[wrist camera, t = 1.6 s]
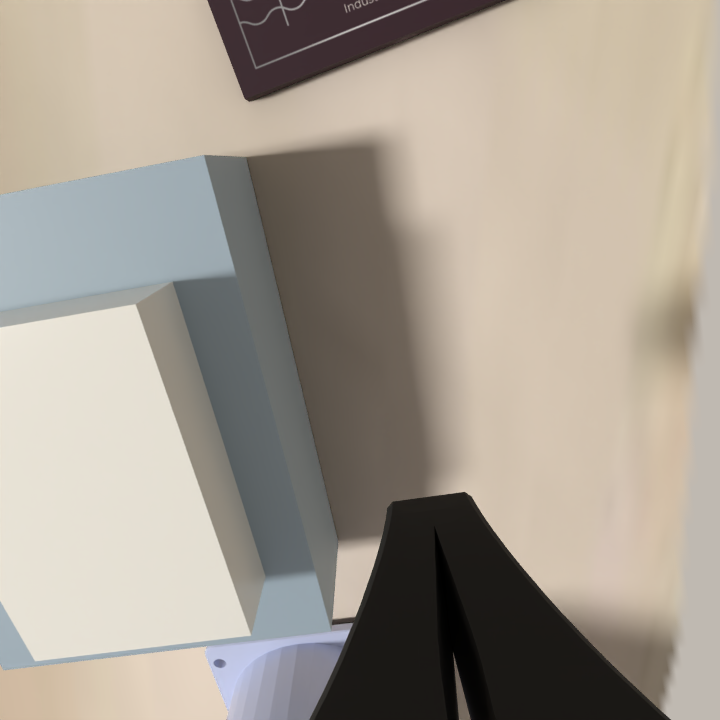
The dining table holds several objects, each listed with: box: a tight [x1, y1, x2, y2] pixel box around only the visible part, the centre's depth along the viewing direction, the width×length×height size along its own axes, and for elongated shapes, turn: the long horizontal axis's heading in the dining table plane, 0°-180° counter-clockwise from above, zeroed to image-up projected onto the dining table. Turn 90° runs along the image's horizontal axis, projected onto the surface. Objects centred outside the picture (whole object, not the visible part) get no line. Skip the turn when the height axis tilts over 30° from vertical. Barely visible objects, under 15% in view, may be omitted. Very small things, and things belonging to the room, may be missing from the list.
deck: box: [0, 155, 338, 670], centre depth 15 cm, size 14×11×4 cm
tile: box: [0, 282, 266, 661], centre depth 13 cm, size 9×6×2 cm, turn 10°
